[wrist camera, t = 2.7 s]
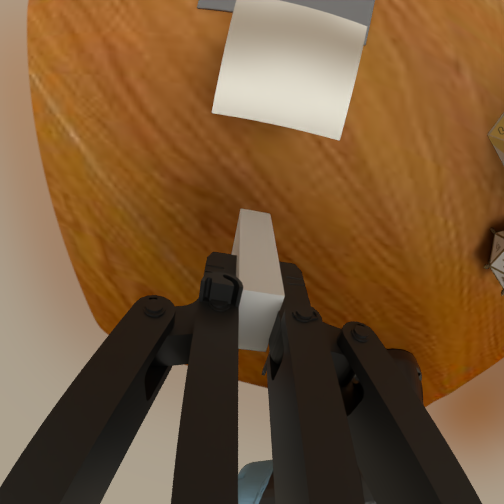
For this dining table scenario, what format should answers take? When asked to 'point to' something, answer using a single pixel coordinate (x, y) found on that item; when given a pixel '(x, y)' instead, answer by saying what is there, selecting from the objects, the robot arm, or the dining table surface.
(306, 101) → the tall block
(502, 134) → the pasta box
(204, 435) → the robot arm
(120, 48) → the dining table surface
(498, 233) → the game die
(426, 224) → the dining table surface
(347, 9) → the mat
